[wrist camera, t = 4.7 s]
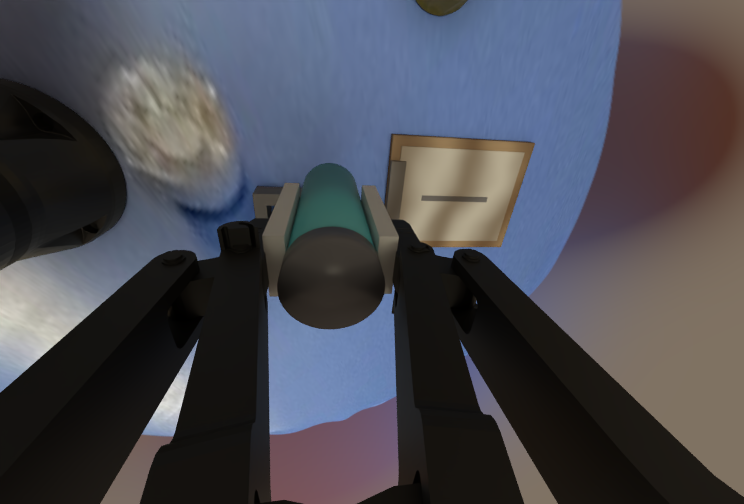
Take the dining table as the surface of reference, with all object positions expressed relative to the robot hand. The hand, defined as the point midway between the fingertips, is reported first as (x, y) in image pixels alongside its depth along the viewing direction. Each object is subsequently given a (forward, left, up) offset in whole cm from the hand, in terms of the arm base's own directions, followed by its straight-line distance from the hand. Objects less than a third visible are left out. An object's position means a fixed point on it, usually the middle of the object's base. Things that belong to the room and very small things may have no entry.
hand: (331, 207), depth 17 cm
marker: (0, 0, -5) cm, 5 cm away
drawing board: (+14, -4, -16) cm, 22 cm away
